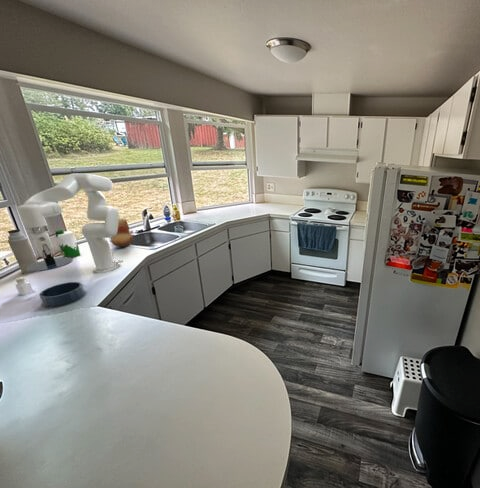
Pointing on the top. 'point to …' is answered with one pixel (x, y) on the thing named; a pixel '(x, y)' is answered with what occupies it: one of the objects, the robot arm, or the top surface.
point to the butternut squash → (122, 234)
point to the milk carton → (67, 243)
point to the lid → (43, 266)
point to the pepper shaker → (23, 286)
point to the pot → (62, 294)
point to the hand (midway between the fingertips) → (50, 263)
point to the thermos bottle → (21, 250)
